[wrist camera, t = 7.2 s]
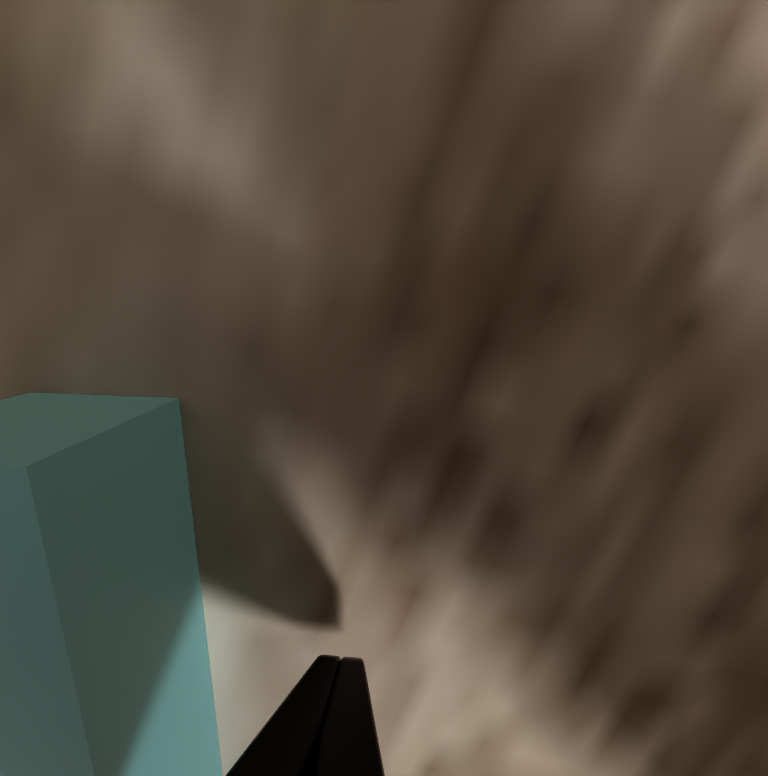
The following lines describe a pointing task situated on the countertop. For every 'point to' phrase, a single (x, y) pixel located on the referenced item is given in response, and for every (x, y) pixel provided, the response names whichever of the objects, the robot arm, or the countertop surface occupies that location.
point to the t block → (100, 592)
